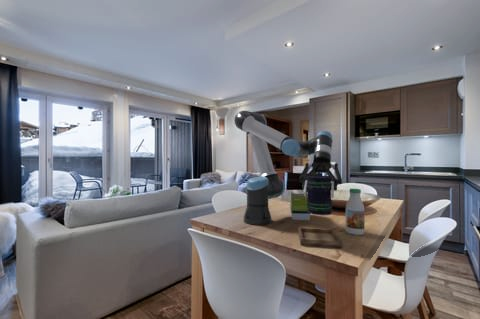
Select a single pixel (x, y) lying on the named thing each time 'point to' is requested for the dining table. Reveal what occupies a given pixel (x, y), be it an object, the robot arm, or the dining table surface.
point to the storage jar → (319, 195)
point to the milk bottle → (355, 213)
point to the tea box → (299, 205)
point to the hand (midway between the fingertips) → (318, 195)
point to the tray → (319, 237)
